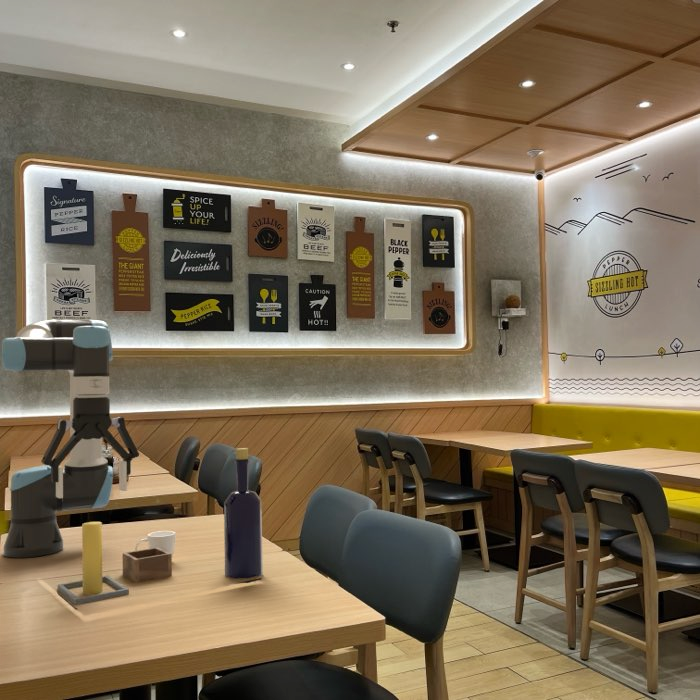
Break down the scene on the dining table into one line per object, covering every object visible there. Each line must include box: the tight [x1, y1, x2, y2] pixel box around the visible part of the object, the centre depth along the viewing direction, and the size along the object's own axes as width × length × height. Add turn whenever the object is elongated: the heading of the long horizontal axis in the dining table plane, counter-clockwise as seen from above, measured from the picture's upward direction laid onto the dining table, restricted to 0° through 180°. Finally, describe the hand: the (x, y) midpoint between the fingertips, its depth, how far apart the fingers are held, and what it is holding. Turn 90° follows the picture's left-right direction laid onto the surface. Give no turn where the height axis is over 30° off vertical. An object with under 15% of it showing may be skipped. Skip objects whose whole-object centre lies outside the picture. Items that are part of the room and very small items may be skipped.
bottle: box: [223, 447, 264, 584], centre depth 164 cm, size 9×9×30 cm
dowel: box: [81, 521, 103, 596], centre depth 152 cm, size 4×4×15 cm
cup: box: [134, 530, 177, 557], centre depth 175 cm, size 7×10×8 cm
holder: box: [122, 547, 173, 583], centre depth 164 cm, size 9×9×6 cm
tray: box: [56, 575, 130, 610], centre depth 151 cm, size 14×11×2 cm
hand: (92, 493), depth 153 cm, fingers open, 13 cm apart
